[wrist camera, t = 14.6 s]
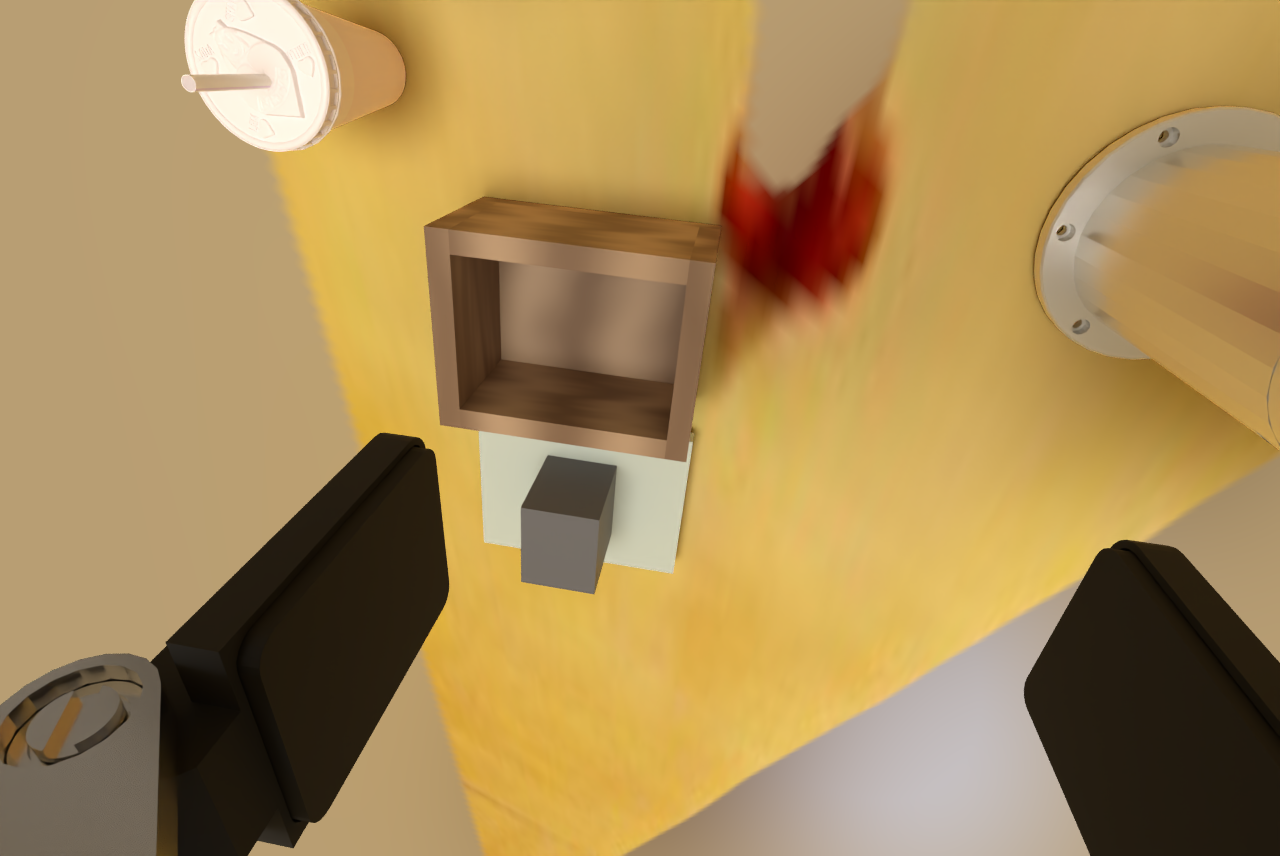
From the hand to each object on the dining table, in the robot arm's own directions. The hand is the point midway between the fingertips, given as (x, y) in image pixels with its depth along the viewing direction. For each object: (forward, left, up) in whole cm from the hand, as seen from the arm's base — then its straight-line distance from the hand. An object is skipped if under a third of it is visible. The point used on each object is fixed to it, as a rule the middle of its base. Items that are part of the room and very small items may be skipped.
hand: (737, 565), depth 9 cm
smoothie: (+21, -4, -30) cm, 37 cm away
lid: (+8, +21, -29) cm, 37 cm away
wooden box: (+8, +7, -30) cm, 32 cm away
